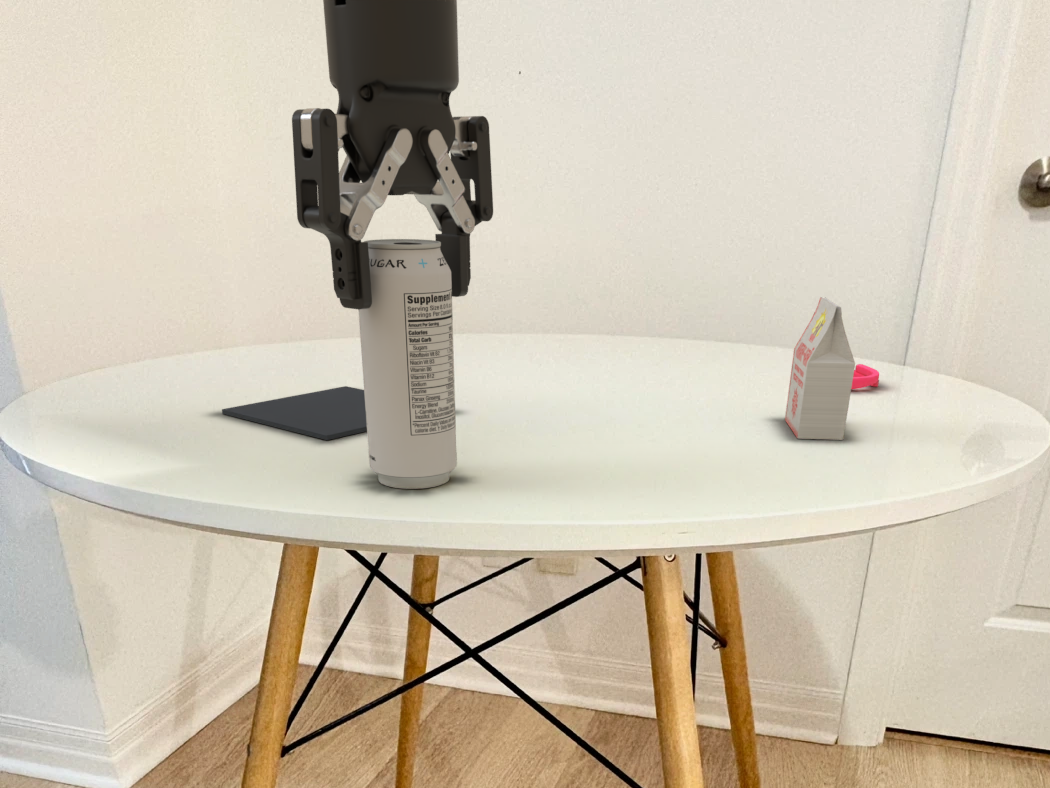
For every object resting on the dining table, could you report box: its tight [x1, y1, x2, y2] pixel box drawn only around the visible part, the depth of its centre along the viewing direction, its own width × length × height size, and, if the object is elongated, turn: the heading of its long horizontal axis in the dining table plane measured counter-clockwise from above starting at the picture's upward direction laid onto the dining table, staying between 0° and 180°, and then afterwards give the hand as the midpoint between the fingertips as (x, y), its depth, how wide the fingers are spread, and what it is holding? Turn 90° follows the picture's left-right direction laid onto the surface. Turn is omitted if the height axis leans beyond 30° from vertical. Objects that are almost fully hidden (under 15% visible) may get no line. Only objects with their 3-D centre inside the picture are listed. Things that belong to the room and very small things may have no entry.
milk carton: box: [784, 296, 856, 441], centre depth 82 cm, size 4×7×10 cm, turn 176°
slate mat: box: [221, 385, 367, 441], centre depth 88 cm, size 14×14×1 cm
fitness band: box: [851, 363, 880, 390], centre depth 102 cm, size 8×6×2 cm
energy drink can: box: [357, 238, 458, 490], centre depth 66 cm, size 6×6×15 cm
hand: (406, 301), depth 64 cm, fingers open, 8 cm apart
